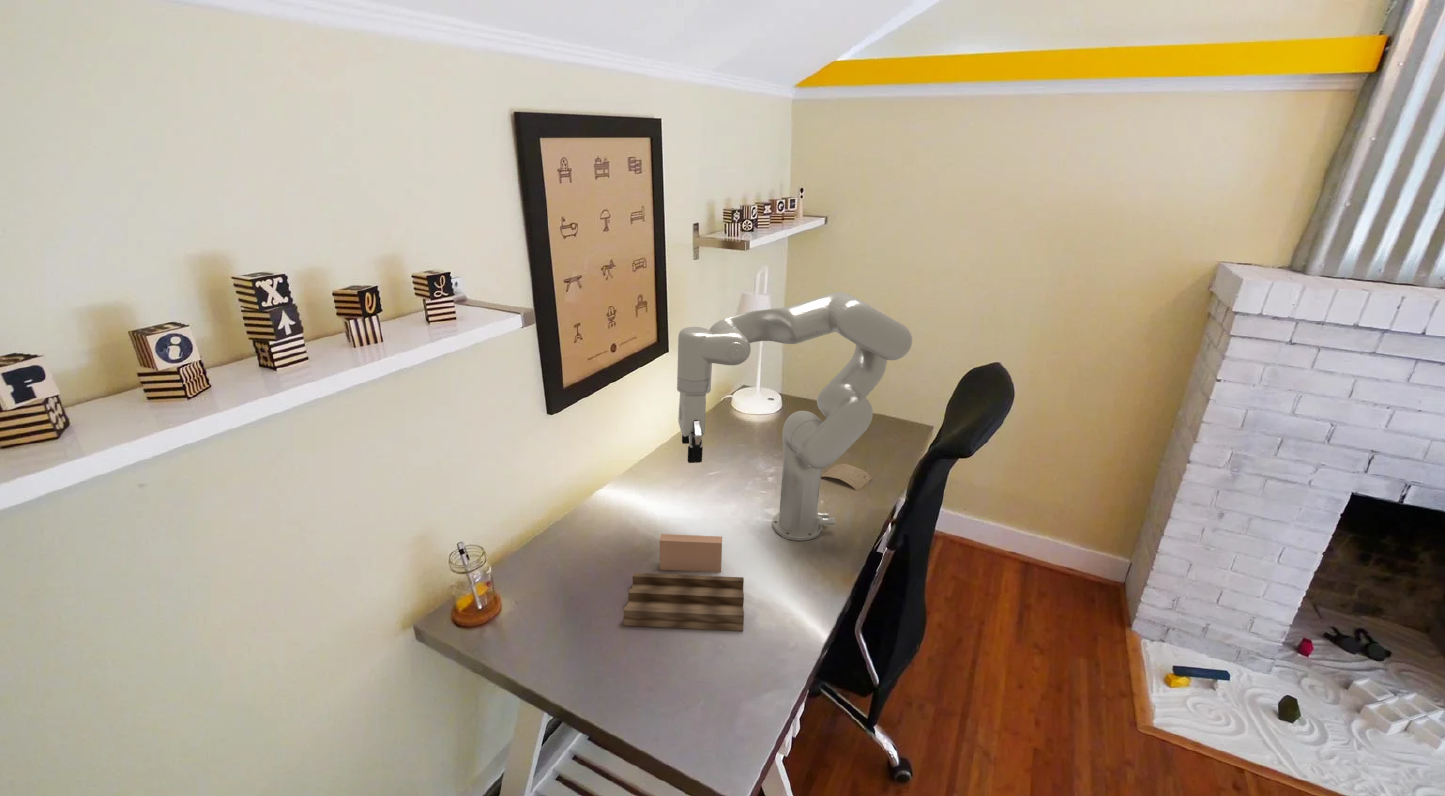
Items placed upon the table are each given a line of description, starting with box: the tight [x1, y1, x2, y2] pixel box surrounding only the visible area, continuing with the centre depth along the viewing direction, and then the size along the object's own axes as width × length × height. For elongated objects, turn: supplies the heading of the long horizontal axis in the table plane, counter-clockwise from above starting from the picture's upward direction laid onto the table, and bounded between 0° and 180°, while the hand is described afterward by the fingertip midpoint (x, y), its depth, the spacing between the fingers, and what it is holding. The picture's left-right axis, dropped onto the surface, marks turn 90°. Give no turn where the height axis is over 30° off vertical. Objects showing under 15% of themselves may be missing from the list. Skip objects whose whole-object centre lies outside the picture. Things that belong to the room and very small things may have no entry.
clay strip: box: [659, 533, 723, 573], centre depth 135 cm, size 14×2×8 cm, turn 88°
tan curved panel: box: [821, 463, 873, 491], centre depth 177 cm, size 14×10×3 cm
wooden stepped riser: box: [623, 572, 745, 632], centre depth 123 cm, size 24×12×4 cm, turn 88°
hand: (691, 452), depth 137 cm, fingers open, 9 cm apart
